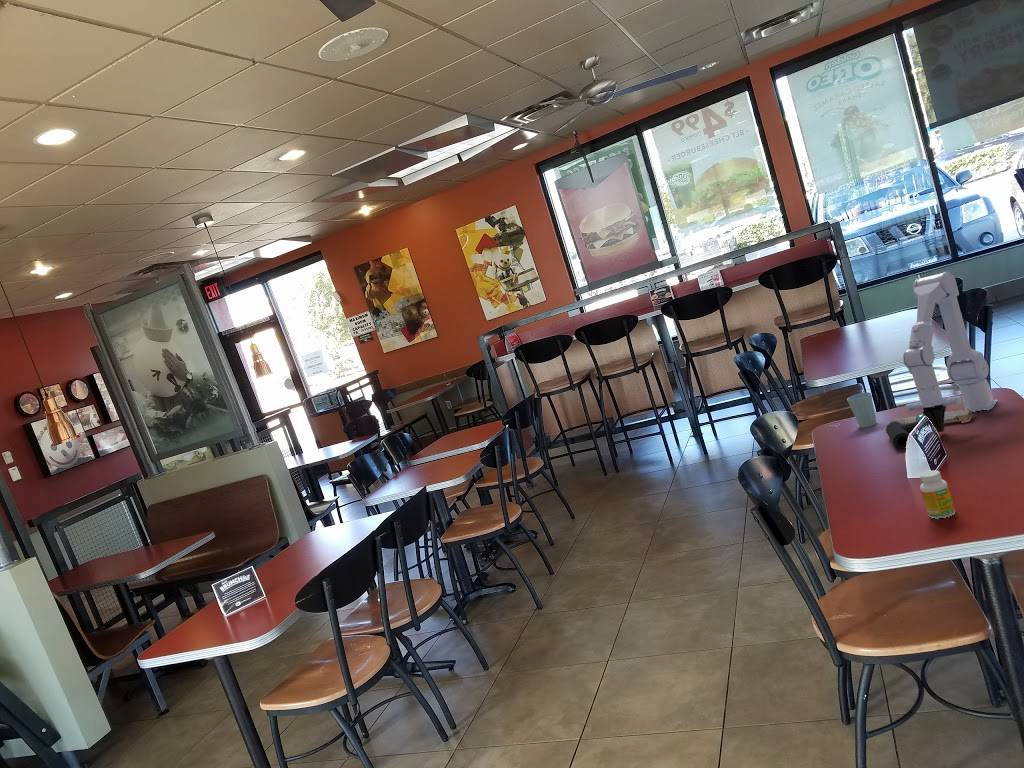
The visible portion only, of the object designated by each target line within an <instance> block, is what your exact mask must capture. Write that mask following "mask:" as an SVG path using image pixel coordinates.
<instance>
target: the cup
mask: <svg viewBox="0 0 1024 768" xmlns="http://www.w3.org/2000/svg"><path fill="white" fill-rule="evenodd" d="M846 400H847V402H848V405H849V407H850V409H851V411H852V413H853V417H854V418H855V420H856V422H857V424H858V428H860V427H861V429H862V428H863V429H865V428H870V427H872V426H875V425H877V418H876V417H877V416H876V412H875V407H874V402H873V397H872V393H871V392H862V393H857V394H853V395H851V396H849V397H848V398H846Z"/></svg>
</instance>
